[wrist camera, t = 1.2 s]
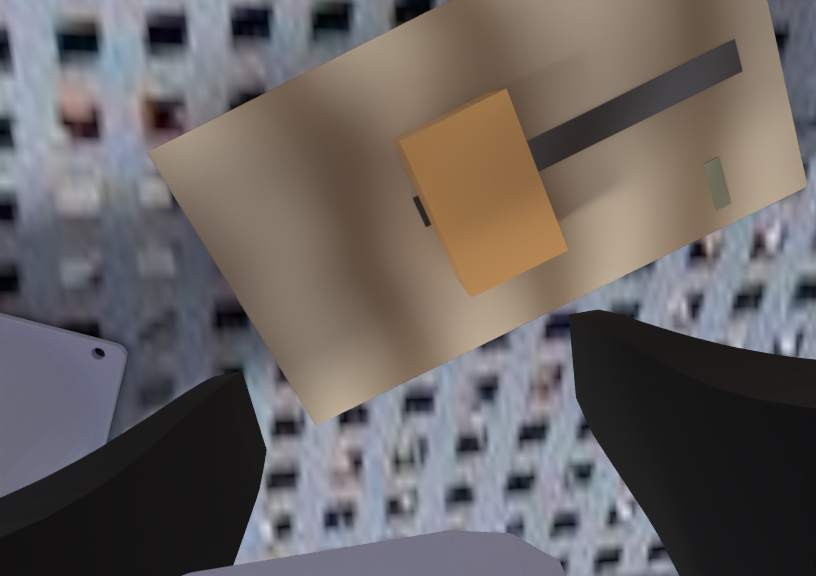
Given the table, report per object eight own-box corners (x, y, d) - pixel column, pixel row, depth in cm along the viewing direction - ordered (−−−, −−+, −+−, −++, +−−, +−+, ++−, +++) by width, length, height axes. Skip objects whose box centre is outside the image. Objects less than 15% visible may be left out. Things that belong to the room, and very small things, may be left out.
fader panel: (317, 401, 24) (315, 426, 22) (165, 150, 20) (146, 152, 18) (769, 181, 23) (808, 186, 21) (697, -117, 20) (737, -144, 18)
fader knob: (456, 278, 20) (471, 297, 18) (392, 139, 19) (399, 141, 16) (541, 235, 20) (568, 250, 18) (485, 93, 19) (506, 88, 16)
